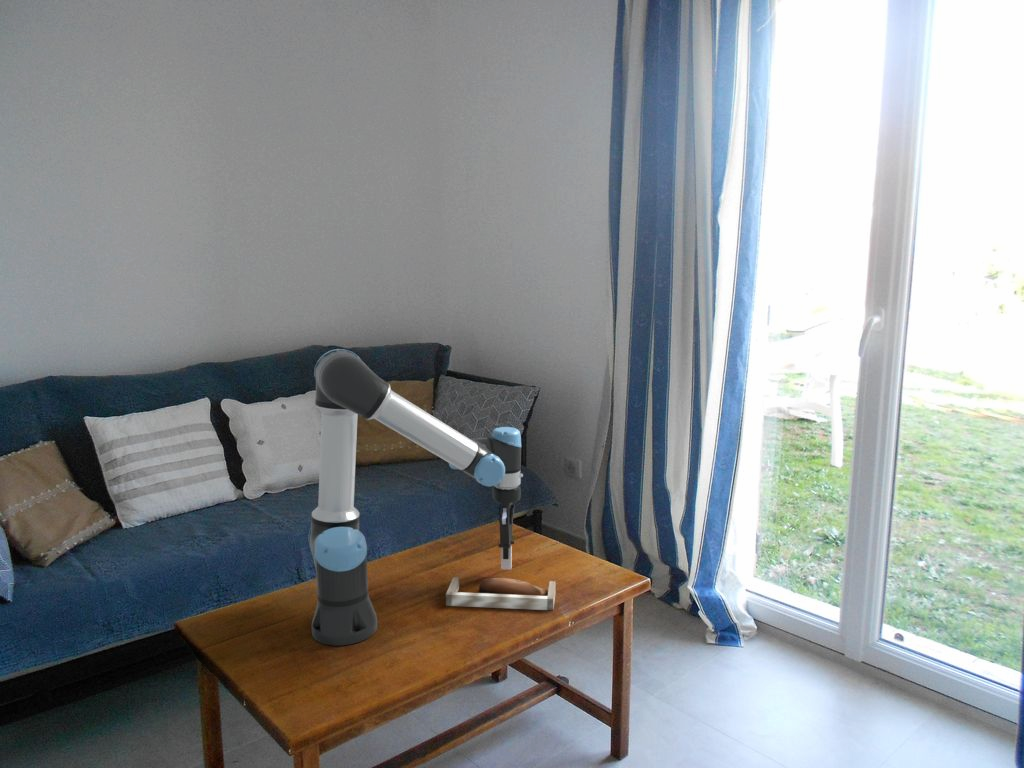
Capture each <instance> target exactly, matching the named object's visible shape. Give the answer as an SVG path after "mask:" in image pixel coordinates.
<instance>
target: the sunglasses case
mask: <svg viewBox="0 0 1024 768" xmlns="http://www.w3.org/2000/svg"><path fill="white" fill-rule="evenodd" d="M478 593H488V594H511V595H534V596H548V589H545V588H542V587H539V586H537V585H533V584H532V583H529V582H527V581H524V580H520V579H515V578H507V577H491V578H484V579H483V580H481V582H480V583H479V585H478Z"/></svg>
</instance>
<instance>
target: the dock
mask: <svg viewBox="0 0 1024 768" xmlns="http://www.w3.org/2000/svg"><path fill="white" fill-rule="evenodd" d="M556 587H557V586H556V581H555V580H554V581H553V580H549V584H548V589H547V591H548V596H534V595H511V594H491V593H483V592H461V591H460V592H459V589H460V578H459V576H452V579H451V582H450V583H449V586H448V589H447V591H446V592H445V606H447V607H449V606H450V607H469V608H472V607H473V608H493V609H494V608H495V609H513V610H515V609H516V610H518V609H519V610H537V611H539V610H540V611H554V609H555V608H554V607H555V600H556V599H555V598H556Z"/></svg>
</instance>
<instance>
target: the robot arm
mask: <svg viewBox="0 0 1024 768" xmlns="http://www.w3.org/2000/svg"><path fill="white" fill-rule="evenodd" d="M313 370H314V372H313V377H314V380H315V400H314V401H315V402H314V403H315V407H316V408H317V409H318V410H319V411H320V413H321V415H320V416H321V417H320V419H321V420H320V422H321V423H320V447H319V471H318V473H319V475H318V478H319V479H318V498H317V499H318V503H317V504H318V505H317V507H315V508H314V510H313V511H311V519H310V520H311V522H310V523H311V524H310V527H309V528H310V529H309V532H308V538H307V539H308V544H309V548H310V552H311V554H312V558H313V559H312V560H313V563H314V568H315V575H316V576H315V577H316V591H317V593H316V594H317V602H316V603H317V604H316V607H315V611H314V615H313V618H312V620H311V621H312V622H311V636H312V637H313V639H314V640H315V641H316V642H318V643H320V644H323V645H328V646H339V647H340V646H341V647H342V646H349V645H353V644H358V643H360V642H363V641H365V640H367V639H368V638H370V637H372V636H373V635H374V633H375V632H376V631H377V629H378V617H377V613H376V611H375V608H374V605H373V603H372V601H371V599H370V596H369V578H368V561H367V560H368V559H367V558H368V557H367V553H368V545H367V542H366V537H365V536H364V535H365V534H363V533H362V531H360V512H359V510H358V509H357V508H356V507H355V506H354V505H355V485H356V483H355V482H356V463H357V462H356V460H357V459H356V457H357V441H358V440H357V435H358V434H357V433H358V416H360V417H362V418H363V419H365V420H367V421H369V420H373V419H374V420H376V421H377V422H379V423H381V424H383V425H384V426H386V427H387V428H389V429H391V430H393V431H395V432H396V433H398V434H399V435H401V436H403V437H405V439H408V440H409V441H411V442H413V443H414V444H416V445H418V446H420V447H422V448H423V449H425V450H426V451H428V452H430V453H431V454H433V455H434V456H437V457H438V458H440V459H442V460H444V462H447V463H448V465H449V467H450V468H451V469H452V470H461V471H462V472H463V473H464V474H466V475H468V476H470V477H472V478H474V479H475V481H476V482H477V483H479V484H480V485H482V486H485V487H492V499H493V500H494V502H496V503H499V507H498V516H499V517H498V523H499V540H500V541H499V542H500V543H499V544H498V545H497V546H498V548H500V569H501V570H509V571H510V570H512V567H513V565H512V562H513V561H512V559H513V558H512V557H513V556H512V553H513V551H512V550H513V549H512V548H513V545H515V540H513V537H514V536H513V529H514V528H513V527H514V526H513V524H514V521H513V520H514V517H515V515H514V511H515V509H516V508H515V507H516V506H515V503H517V502H518V501H520V500H521V497H522V496H521V493H522V492H521V491H522V490H521V489H522V487H521V484H522V483H521V481H522V479H521V478H523V477H524V474H523V473H522V472H521V469H522V468H521V467H522V465H521V463H522V437H521V431H520V430H519V428H518V429H517V428H516V427H510V426H500V427H495V428H494V429H493V431H492V434H491V436H488V437H479V438H469V437H467V436H465V435H464V434H463V433H461V432H459V431H458V430H456V429H454V428H453V427H451V426H450V425H448V424H446V423H445V422H443V421H441V420H440V419H439V418H437V417H435V416H433V415H432V414H430V413H428V412H427V411H425V410H424V409H422V408H420V407H419V406H417V405H415V403H412V402H411V401H409V400H408V399H406V398H404V397H403V396H402V395H399V394H398V393H397V392H395V391H393V390H392V389H391V384H390V383H388V382H387V381H385V380H384V379H383V378H381V377H379V375H377V374H376V373H375V372H374V371H373V370H371V369H370V367H369V366H368V365H367V364H366V363H365V362H364V361H363V360H362V359H361V358H360V356H358V355H357V354H356V353H355V352H353V351H350V350H347V349H341V348H337V349H330V350H328V351H327V352H325V353H324V354H322V355H321V356H320V357H319V359H318V360H317V361H316V364H315V366H314V369H313Z"/></svg>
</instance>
